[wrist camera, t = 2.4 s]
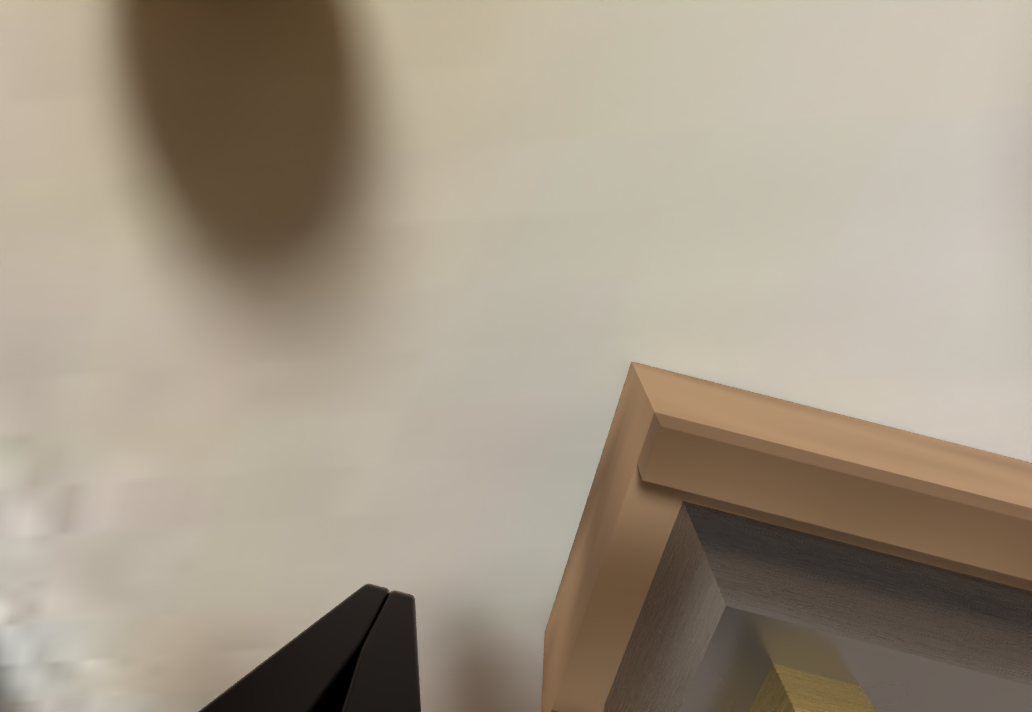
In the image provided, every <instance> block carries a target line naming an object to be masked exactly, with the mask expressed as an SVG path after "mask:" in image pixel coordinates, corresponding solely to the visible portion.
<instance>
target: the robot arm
mask: <svg viewBox="0 0 1032 712" xmlns="http://www.w3.org/2000/svg"><path fill="white" fill-rule="evenodd" d="M199 712H421V703H420V685H419V666H418V648H417V629H416V610H415V598H414V596H413V595H410V594H406V593H403V592H399V591H391V592H389V590H388V589H387V588H384V587H380V586H376V585H372V584H366V585H364V586H362V587H361V588H360V589H358V590H357V591H356V592H355V593H353V594H352V595H351V596H349V597H348V598H347V599H345V600H344V601H343V602H341V603H340V604H339V605H338V606H336V607H335V608H334V609H332V610H331V611H330V612H328V613H327V614H326V615H324V616H323V617H322V618H320V619H319V620H318V621H317V622H315V623H314V624H313V625H311V626H310V627H309V628H307V629H306V630H305V631H303V632H302V633H301V634H300V635H298V636H297V637H296V638H294V639H293V640H292V641H290V642H289V643H288V644H286V645H285V646H284V647H282V648H281V649H280V650H279V651H277V652H276V653H275V654H273V655H272V656H271V657H269V658H268V659H267V660H265V661H264V662H263V663H262V664H260V665H259V666H258V667H256V668H255V669H254V670H252V671H251V672H250V673H248V674H247V675H246V676H244V677H243V678H242V679H241V680H239V681H238V682H237V683H235V684H234V685H233V686H231V687H230V688H229V689H227V690H226V691H225V692H224V693H222V694H221V695H220V696H218V697H217V698H216V699H214V700H213V701H212V702H210V703H209V704H208V705H206V706H205V707H204V708H203V709H201V710H200V711H199Z"/></svg>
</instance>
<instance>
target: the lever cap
mask: <svg viewBox="0 0 1032 712" xmlns="http://www.w3.org/2000/svg"><path fill="white" fill-rule="evenodd" d="M604 706H605V712H1032V591H1029V590H1025V589H1021V588H1017V587H1014V586H1010V585H1006V584H1002V583H998V582H994V581H990V580H987V579H983V578H979V577H975V576H971V575H967V574H963V573H959V572H956V571H952V570H948V569H944V568H940V567H936V566H932V565H929V564H925V563H921V562H917V561H913V560H909V559H905V558H901V557H898V556H894V555H890V554H886V553H882V552H878V551H874V550H871V549H867V548H863V547H859V546H855V545H851V544H847V543H843V542H840V541H836V540H832V539H828V538H824V537H820V536H816V535H813V534H809V533H805V532H801V531H797V530H793V529H789V528H785V527H782V526H778V525H774V524H770V523H766V522H762V521H758V520H755V519H751V518H747V517H743V516H739V515H735V514H731V513H727V512H724V511H720V510H716V509H712V508H708V507H704V506H700V505H697V504H693V503H689V502H685V501H683V502H682V505H681V507H680V510H679V513H678V515H677V518H676V520H675V523H674V526H673V528H672V531H671V533H670V536H669V538H668V541H667V544H666V546H665V549H664V551H663V554H662V557H661V559H660V562H659V564H658V567H657V570H656V572H655V575H654V577H653V580H652V583H651V585H650V588H649V590H648V593H647V596H646V598H645V601H644V603H643V606H642V608H641V611H640V614H639V616H638V619H637V621H636V624H635V627H634V629H633V632H632V634H631V637H630V640H629V642H628V645H627V647H626V650H625V653H624V655H623V658H622V660H621V663H620V666H619V668H618V671H617V673H616V676H615V679H614V681H613V684H612V686H611V689H610V691H609V694H608V697H607V699H606V702H605V704H604Z"/></svg>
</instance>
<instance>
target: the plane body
mask: <svg viewBox="0 0 1032 712" xmlns="http://www.w3.org/2000/svg"><path fill="white" fill-rule="evenodd" d="M683 501H685V502H689V503H693V504H697V505H700V506H704V507H708V508H712V509H716V510H720V511H724V512H727V513H731V514H735V515H739V516H743V517H747V518H751V519H755V520H758V521H762V522H766V523H770V524H774V525H778V526H782V527H785V528H789V529H793V530H797V531H801V532H805V533H809V534H813V535H816V536H820V537H824V538H828V539H832V540H836V541H840V542H843V543H847V544H851V545H855V546H859V547H863V548H867V549H871V550H874V551H878V552H882V553H886V554H890V555H894V556H898V557H901V558H905V559H909V560H913V561H917V562H921V563H925V564H929V565H932V566H936V567H940V568H944V569H948V570H952V571H956V572H959V573H963V574H967V575H971V576H975V577H979V578H983V579H987V580H990V581H994V582H998V583H1002V584H1006V585H1010V586H1014V587H1017V588H1021V589H1025V590H1029V591H1032V463H1029V462H1025V461H1021V460H1017V459H1014V458H1010V457H1006V456H1002V455H998V454H994V453H990V452H986V451H982V450H978V449H974V448H970V447H966V446H962V445H958V444H954V443H950V442H946V441H943V440H939V439H935V438H931V437H927V436H923V435H919V434H915V433H911V432H907V431H903V430H899V429H895V428H891V427H887V426H883V425H879V424H875V423H872V422H868V421H864V420H860V419H856V418H852V417H848V416H844V415H840V414H836V413H832V412H828V411H824V410H820V409H816V408H812V407H808V406H804V405H801V404H797V403H793V402H789V401H785V400H781V399H777V398H773V397H769V396H765V395H761V394H757V393H753V392H749V391H745V390H741V389H737V388H733V387H730V386H726V385H722V384H718V383H714V382H710V381H706V380H702V379H698V378H694V377H690V376H686V375H682V374H678V373H674V372H670V371H666V370H663V369H659V368H655V367H651V366H647V365H643V364H639V363H635V362H631V365H630V368H629V371H628V375H627V378H626V381H625V384H624V387H623V390H622V393H621V396H620V400H619V403H618V406H617V409H616V412H615V415H614V418H613V421H612V424H611V428H610V431H609V434H608V437H607V440H606V443H605V446H604V449H603V453H602V456H601V459H600V462H599V465H598V468H597V471H596V474H595V477H594V481H593V484H592V487H591V490H590V493H589V496H588V499H587V502H586V506H585V509H584V512H583V515H582V518H581V521H580V524H579V527H578V531H577V534H576V537H575V540H574V543H573V546H572V549H571V552H570V555H569V559H568V562H567V565H566V568H565V571H564V574H563V577H562V580H561V584H560V587H559V590H558V593H557V596H556V599H555V602H554V605H553V609H552V612H551V615H550V618H549V621H548V624H547V627H546V630H545V640H544V663H543V686H542V709H541V712H605V706H604V704H605V702H606V699H607V697H608V694H609V691H610V689H611V686H612V684H613V681H614V679H615V676H616V673H617V671H618V668H619V666H620V663H621V660H622V658H623V655H624V653H625V650H626V647H627V645H628V642H629V640H630V637H631V634H632V632H633V629H634V627H635V624H636V621H637V619H638V616H639V614H640V611H641V608H642V606H643V603H644V601H645V598H646V596H647V593H648V590H649V588H650V585H651V583H652V580H653V577H654V575H655V572H656V570H657V567H658V564H659V562H660V559H661V557H662V554H663V551H664V549H665V546H666V544H667V541H668V538H669V536H670V533H671V531H672V528H673V526H674V523H675V520H676V518H677V515H678V513H679V510H680V507H681V505H682V502H683Z"/></svg>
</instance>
